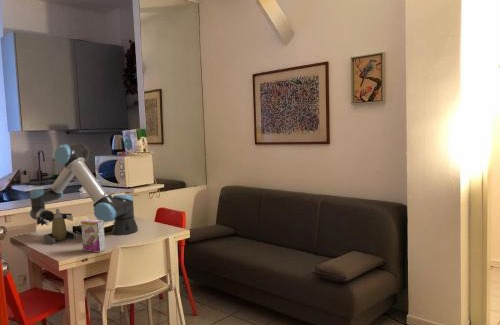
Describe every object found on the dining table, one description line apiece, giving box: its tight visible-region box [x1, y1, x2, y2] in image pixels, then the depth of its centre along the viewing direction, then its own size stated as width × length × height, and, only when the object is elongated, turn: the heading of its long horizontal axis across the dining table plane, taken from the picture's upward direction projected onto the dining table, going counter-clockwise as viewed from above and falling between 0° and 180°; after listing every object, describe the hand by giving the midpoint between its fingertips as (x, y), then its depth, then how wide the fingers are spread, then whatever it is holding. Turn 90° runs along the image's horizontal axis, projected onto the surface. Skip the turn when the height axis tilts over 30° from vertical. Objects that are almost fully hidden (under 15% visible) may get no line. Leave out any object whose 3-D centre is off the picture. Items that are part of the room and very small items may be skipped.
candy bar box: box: [80, 219, 106, 252], centre depth 225 cm, size 11×5×16 cm, turn 71°
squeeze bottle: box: [51, 208, 68, 240], centre depth 247 cm, size 8×8×18 cm
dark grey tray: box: [43, 230, 77, 245], centre depth 248 cm, size 13×13×4 cm
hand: (60, 220), depth 245 cm, fingers open, 13 cm apart
